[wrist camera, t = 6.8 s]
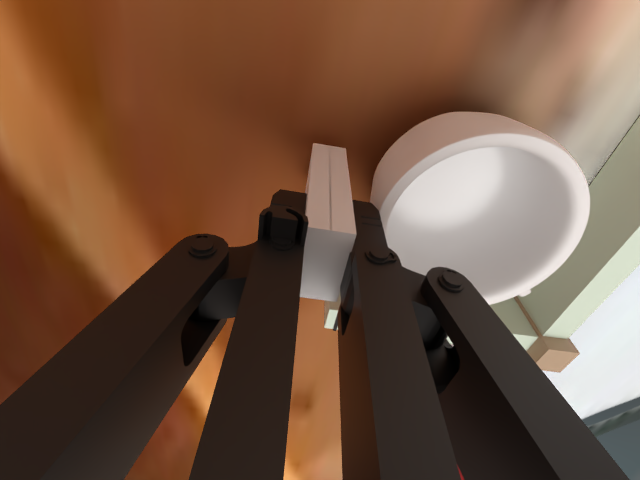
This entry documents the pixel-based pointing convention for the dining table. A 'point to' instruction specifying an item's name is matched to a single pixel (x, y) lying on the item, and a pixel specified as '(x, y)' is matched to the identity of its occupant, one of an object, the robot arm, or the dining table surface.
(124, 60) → the dining table surface
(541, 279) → the teacup
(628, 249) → the corner fence
